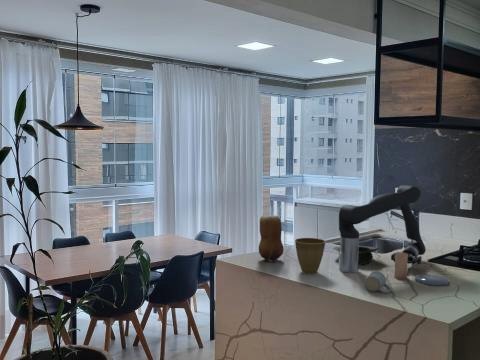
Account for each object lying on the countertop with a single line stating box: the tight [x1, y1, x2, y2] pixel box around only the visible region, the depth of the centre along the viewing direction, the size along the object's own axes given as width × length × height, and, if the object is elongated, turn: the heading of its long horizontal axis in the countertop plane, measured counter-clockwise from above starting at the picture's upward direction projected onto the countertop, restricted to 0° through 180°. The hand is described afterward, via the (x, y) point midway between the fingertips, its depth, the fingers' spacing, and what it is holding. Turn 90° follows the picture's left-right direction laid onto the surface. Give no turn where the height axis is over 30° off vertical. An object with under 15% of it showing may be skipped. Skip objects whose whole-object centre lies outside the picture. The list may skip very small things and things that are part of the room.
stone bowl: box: [332, 245, 380, 266], centre depth 258 cm, size 25×25×9 cm
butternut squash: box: [258, 214, 284, 262], centre depth 254 cm, size 14×13×25 cm
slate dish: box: [414, 273, 450, 287], centre depth 221 cm, size 15×15×1 cm
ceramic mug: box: [364, 270, 392, 294], centre depth 206 cm, size 11×8×8 cm
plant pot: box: [294, 237, 326, 275], centre depth 233 cm, size 15×15×16 cm
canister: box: [394, 251, 408, 281], centre depth 226 cm, size 6×6×12 cm
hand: (403, 261), depth 232 cm, fingers open, 8 cm apart
